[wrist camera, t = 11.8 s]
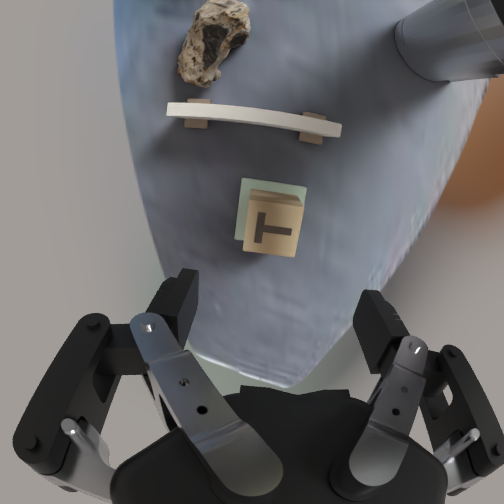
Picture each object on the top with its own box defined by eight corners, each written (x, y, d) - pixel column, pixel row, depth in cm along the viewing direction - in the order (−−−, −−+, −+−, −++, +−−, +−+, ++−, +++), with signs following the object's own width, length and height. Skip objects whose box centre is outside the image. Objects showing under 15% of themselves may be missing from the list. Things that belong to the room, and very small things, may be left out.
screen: (327, 117, 26) (343, 113, 20) (322, 145, 27) (338, 148, 21) (186, 99, 25) (169, 91, 20) (183, 127, 26) (165, 126, 21)
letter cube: (297, 195, 29) (304, 207, 24) (289, 238, 31) (294, 258, 26) (250, 188, 29) (249, 199, 24) (245, 232, 31) (242, 251, 26)
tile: (306, 186, 29) (307, 187, 28) (294, 245, 32) (295, 247, 31) (242, 177, 29) (241, 178, 28) (234, 237, 32) (234, 239, 31)
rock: (258, 103, 24) (285, 14, 15) (185, 108, 22) (195, 7, 13) (232, 66, 27) (248, -5, 18) (172, 70, 25) (179, -7, 16)
